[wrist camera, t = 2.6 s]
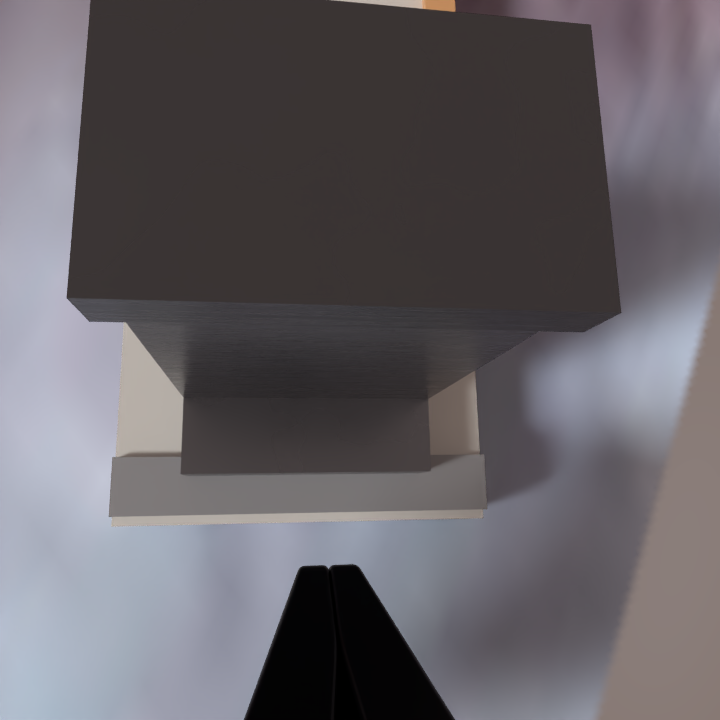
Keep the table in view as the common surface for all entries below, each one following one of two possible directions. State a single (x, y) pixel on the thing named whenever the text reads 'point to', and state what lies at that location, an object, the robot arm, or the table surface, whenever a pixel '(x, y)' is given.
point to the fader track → (284, 492)
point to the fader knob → (334, 214)
